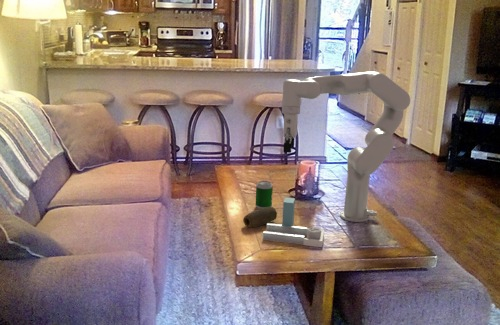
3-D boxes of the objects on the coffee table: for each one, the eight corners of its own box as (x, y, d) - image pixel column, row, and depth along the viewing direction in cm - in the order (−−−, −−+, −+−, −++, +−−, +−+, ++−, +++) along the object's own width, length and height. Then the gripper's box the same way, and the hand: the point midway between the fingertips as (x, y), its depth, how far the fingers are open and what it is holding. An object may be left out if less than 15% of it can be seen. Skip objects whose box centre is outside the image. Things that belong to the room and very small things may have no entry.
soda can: (270, 211, 228) (271, 186, 225) (253, 209, 229) (254, 184, 226) (272, 205, 235) (274, 181, 232) (257, 204, 236) (258, 179, 233)
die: (319, 245, 195) (320, 233, 194) (306, 243, 196) (307, 231, 195) (320, 239, 200) (321, 228, 198) (307, 238, 201) (308, 226, 199)
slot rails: (306, 234, 204) (306, 227, 203) (303, 244, 195) (304, 237, 194) (267, 229, 207) (267, 223, 206) (262, 239, 198) (263, 232, 197)
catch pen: (323, 235, 203) (324, 230, 203) (321, 247, 193) (322, 241, 192) (306, 233, 205) (306, 228, 204) (303, 245, 194) (303, 239, 194)
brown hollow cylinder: (265, 217, 220) (266, 203, 219) (277, 222, 216) (278, 207, 214) (241, 226, 210) (241, 211, 208) (253, 231, 205) (253, 216, 204)
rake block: (293, 225, 213) (295, 198, 210) (291, 230, 208) (293, 203, 204) (283, 224, 214) (285, 197, 211) (281, 229, 208) (283, 202, 205)
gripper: (297, 113, 201) (295, 155, 205) (302, 107, 217) (299, 145, 222) (278, 112, 202) (276, 153, 207) (284, 105, 219) (282, 144, 223)
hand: (288, 149), depth 214 cm, fingers open, 9 cm apart
